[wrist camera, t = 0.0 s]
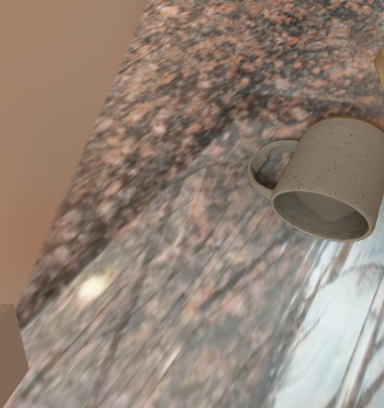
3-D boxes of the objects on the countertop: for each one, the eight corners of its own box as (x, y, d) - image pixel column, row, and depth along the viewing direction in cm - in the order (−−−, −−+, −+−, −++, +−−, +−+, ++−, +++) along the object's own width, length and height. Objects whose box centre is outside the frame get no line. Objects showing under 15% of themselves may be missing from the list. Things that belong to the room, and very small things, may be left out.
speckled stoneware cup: (371, 174, 28) (423, 124, 21) (345, 251, 26) (395, 225, 19) (264, 135, 31) (278, 79, 24) (231, 204, 28) (237, 164, 21)
